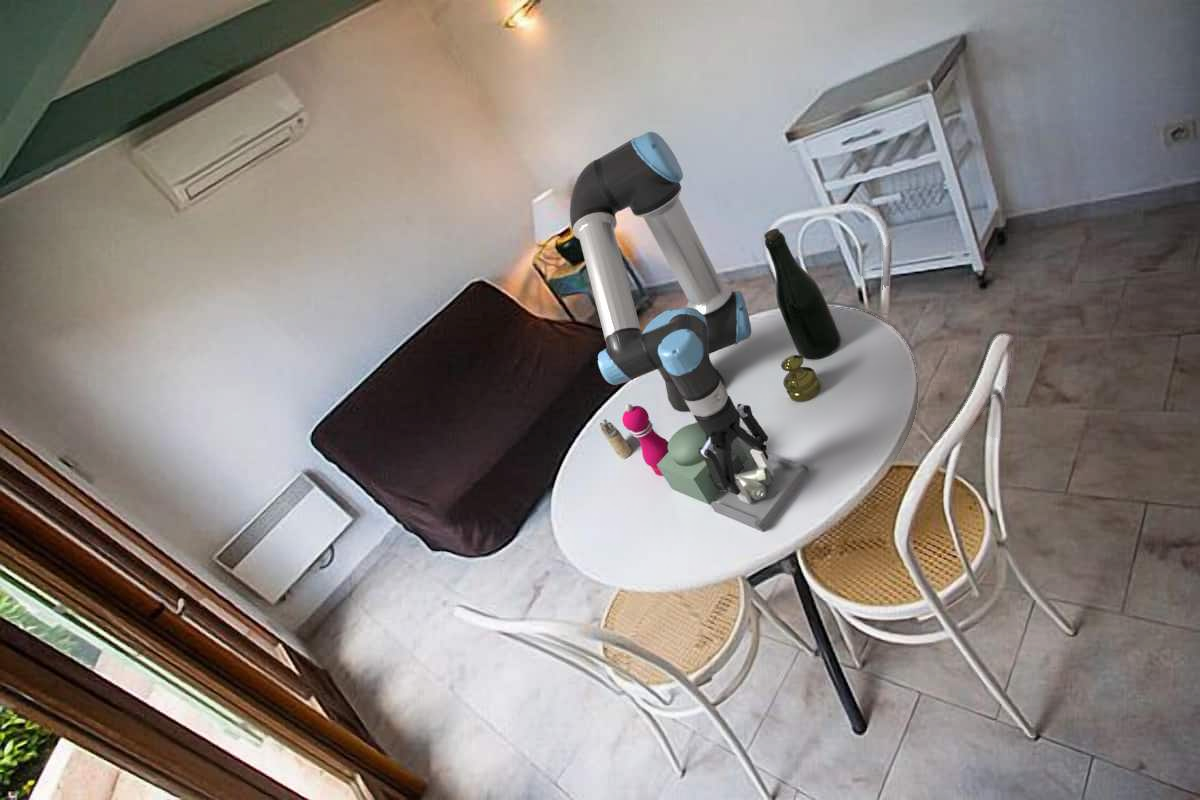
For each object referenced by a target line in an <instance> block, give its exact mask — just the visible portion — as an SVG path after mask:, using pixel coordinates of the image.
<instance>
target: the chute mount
mask: <svg viewBox="0 0 1200 800" xmlns="http://www.w3.org/2000/svg"><path fill="white" fill-rule="evenodd" d="M767 455H768V459H767V461H768V463H769V465H770V467H771V469H772V471H773V473H774V475H773V476H770V480H771V482H770V484H769V485H767V486H765V488H766V493H765V494H766V495H765V496H764V497H762V498H761V499H759V500H755V499H754V498H752V497H750V496H749V497H750V499H751V501H752V502H751V503H750V504H749V503H746V502H743V501H741V500H739V498H738V496H737V495H736V494H733V493H731V491H730V490H729V489H728V491H727V492H726V493H725V495H724V496H723V497H722V498H721V499H720V500H719V502H718V501H714V500H713V501H712V502H711V503H710V506H711V508H712V509H713V511H714V512H715V513H717V514H719V515H721V516H724V517H726V518H728V519H731V520H733V521H737V522H739V523H741V524H743V525H746V526H748V527H750V528H753V529H755V530H757V531H760V532H762V533H763V532H764V531H765V530H766V529H767V528H768V527H769V526H770V524H771V523H772V521H773V520H774V519H775V518H776V516H777V515H778V514H779V513H780V511H782V509H783V508H784V506H785V505H786V504H787V503H788V501H789V500H790V498H791V497H792V496H793V495H794V494H795V493H796V492H797V490H798V489H799V488H800V486H801V485H802V484H803V483H804V482H805V480H806V479H807V477H808V476H809V475H810V474H811V471H810V469H809V468H808V466H807V464H804V463H800V462H797V461H793V460H790V459H786V458H783V457H780V456H776V455H772V454H770V453H767ZM753 460H754V459H753ZM758 468H759V467H758V465H757V463H756V462H755V460H754V461H752V463H751V464H750V465H749V466H748V467H747V469H746V470H745V471H744V472H748V471H752V470H756V469H758Z"/></svg>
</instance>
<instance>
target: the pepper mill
mask: <svg viewBox="0 0 1200 800" xmlns="http://www.w3.org/2000/svg"><path fill="white" fill-rule="evenodd" d="M624 410H625V411H624V412H623V415H622V418H621V419H622V420H621V421H622V424H623V426H624V427H625V429H627V430H628V431H630V432H631V434H632V436H633V437H634V438H637V439H638V442H640V446H641V455H642V458H643V461H644V463H645V464H646V465H647V466H649V467H651V469H652V471H653V472H654V474H655V475H657V476H659V477H662V476H663V474H662V473H661V471H660V470H659V468H658V467H657V464H658V463H659V462H660V461H661V460H662V459H663V457H664V456H665V455H666V454H667V453H668V452H669V451H668V443H669V440H667V439H666V438H664V437H662V436H661V435H660V434H658V433H657V432H656V431H655V430H654V429H653V428H654V427H653V423H652V421H651V419H650V418H649V413H648V411H647V410H646V408H644V407H643V406H641V405H632V404H631V403H626V404H625V406H624ZM663 477H664V476H663Z"/></svg>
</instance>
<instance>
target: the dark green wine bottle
mask: <svg viewBox="0 0 1200 800" xmlns="http://www.w3.org/2000/svg"><path fill="white" fill-rule="evenodd" d="M764 246H765V248H766V249H767V252H768V253H769V256H770V258H771V261H772V264H773V267H774V271H775V272H774V273H775V295H776V296H775V297H776V301H777V305H778V308H779V311H780V314H781V316H782V318H783V321H784V323H785V326H786V329H787V330H788V332H789V335H790V337H791V339H792V342H793V345H794V347H795V348H796V351H797V354H798V355H800V356H802V358H803V359H806V360H818V359H821V358H824V357H827V356H829V355H831V354H832V353H833V352H835V351H836V350H837V349H838V348H839V346H840V344H841V342H842V337H841V334H840V332H839V330H838V326H837V325H836V322H835V320H834V318H833V315H832V313H831V310H830V309H829V306H828V303H827V300H826V299H825V297H824V295H823V292H822V290H821V288H820V286H819V285H818V283H817V282H816V280H815V279H814V278H813V277H812V276H811V275H810V274H809V273H808V272H807V271H806V270H805V269H804V268H803V267H802V266H801V265H800V264H799V263H798V261H797V260H796V259H795V257H794V255H793V253H792V252H791V250H790V248H789V245H788V243H787V241H786V236H785V234H783V232H781V231H780V229H779V228H772V229H771V230H768V231H767V232H766V233H764Z"/></svg>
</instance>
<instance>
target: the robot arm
mask: <svg viewBox="0 0 1200 800" xmlns="http://www.w3.org/2000/svg"><path fill="white" fill-rule="evenodd" d="M683 178H684V174H683V169H682V167H681V165H680V164H679V161H678V158H677V157H676V155H675V154H674V151H673V150H672V149H671V147H670V146H669V145H668V143H667V142H666V141H665V139H664V138H663V137H662V136H661V135H660V134H658V133H657V132H654V131H648V132H645V133H644V134H641V135H639V136H637V137H633V138H632V139H629V140H628V141H627V142H625V143H623V144H621V145H620V146H618V147H616V148H615V149H613V150H611V151H609V152H608V153H606V154H604V155H602V156H601V157H599V158H597V159H595V160H592V161H591V162H589V163H588V164H587V165H586V166H585V167H584V168H583V170H582V171H581V172H580V174H579V175H578V177H577V179H576V181H575V184H574V186H573V190H572V192H571V198H570V204H569V221H570V226H571V230H572V233H573V235H574V237H575V238H576V239H577V240H579V243H580V246H581V251H582V254H583V258H584V261H585V262H584V263H585V267H586V270H587V274H588V278H589V282H590V286H591V289H592V293H593V297H594V302H595V305H596V309H597V313H598V316H599V317H598V318H599V321H600V325H601V328H602V332H603V333H602V334H603V337H604V341H605V344H606V348H604V349H603V350H602V351H600V352H599V353H598V355H597V359H598V360H597V364H598V368H599V370H600V373H601V375H602V377H603V378H604V380H605V381H606V382H607V383H608V384H611V385H612V386H616V385H619V384H620V385H621V384H624V383H626V382H630V381H634V379H636V378H639V377H642V376H644V375H646V374H649V373H651V372H654V371H656V370H657V371H658V372H659V374H660V375H661V377H662V379H663V381H664V384H665V390H666V394H667V399H668V402H669V404H670V405H671V407H672V408H673V410H676V411H677V412H680V413H682V412H683V413H688V412H691V415H693V417H694V419H695V421H696V422H697V423H698V424H699V426H700V428H701V429H702V430H703V431H704V433H705V435H706V440H707V442H706V444H705V446H704V447H703V448H702V447H700V448H699V449H698V453H699V454H700V455H701V456H702V457H703V458H704V460H705V462H706V464H707V467H708V469H709V471H710V473H711V476H712V478H713V480H714V482H715V485H717V486H719V487H722V488H725V489H727V488H728V489H727V490H728V491H729V490H730V491H731V493H733V494H736V495H737V496H738V498H739V500H741V501H743V502H746V503H749V504H750V503H751V502H752V501H751V499H750V497H749V495H748V494H747V492H746V490H745V488H744V487H743V485H742V483H741V482H740V480H739V479H737V478H735V475H734V469H733V464H732V458H731V451H732V448H731V444H732V442H733V440H734V439H736V438H738V439H740V440H741V441H742V442H743V443H745V444H746V445H748V446H749V447H751V448H752V449H750V454H751V456H752V458H753V460H755V462H756V463H757V465H758V467H766V469H767V471H768V473H769V475H770V476H773V475H774V473H773V471H772V469H771V467H770V465H769V463H768V461H767V459H768V455H767V454H768V453H767V452H766V451H767V450H768V446H767V445H766V444H765V443H766V442H768V440H769V436H768V435H767V433H766V431H765V430H764V429H763V428H762V426H761V425H760V423H759V421H758V420H757V419H756V417H755V415H753V412H752V411H753V410H752V408H751V407H752V406H751V405H748V404H742V403H738V404H737V405H736V406H735V404H734V402H733V401H732V398H731V397H730V396H729V393H728V391H727V390H726V388H725V386H724V385H725V380H724V377H723V376H722V373H721V372H720V371H719V370H718V369H717V368H716V367H715V366H714V365H713V363H712V361H711V358H710V354H712V353H715V352H718V351H720V350H722V349H725V348H727V347H730V346H732V345H738V343H740V342H743V341H744V340H747V339H749V338H750V337H751V335H752V332H753V331H752V330H753V329H752V325H751V324H752V323H751V321H750V316H749V312H748V307H747V305H746V302H745V298H744V295H743V294H742V291H741V290H734V291H733V289H732V287H731V285H729V284H727V283H723V282H721V280H720V278H719V276H718V273H717V271H716V269H715V268H714V266H713V263H712V261H711V259H710V258H709V256H708V254H707V252H706V249H705V248H704V246H703V244H702V242H701V240H700V237H699V236H698V234H697V231H696V230H695V227H694V226H693V224H692V221H691V220H690V218H689V215H688V214H687V211H686V210H685V208H684V205H683V204H682V202H681V201H682V200H681V199H680V195H681V191H682V185H681V181H682V180H683ZM627 208H630V210H631V212H632V214H633V215H634V216H635V217H639V218H642V219H644V221H645V223H646V225H647V227H648V228H649V231H650V232H651V234H652V237H653V238H654V239H655V241H656V243H657V245H658V246H659V249H660V251H661V252H662V255H663V256H664V258H665V260H666V262H667V264H668V265H669V267H670V269H671V271H672V272H673V274H674V276H675V278H676V280H677V282H678V284H679V286H680V287H681V289H682V291H683V293H684V294H685V297H686V298H687V300H688V302H687V304H686V307H682V308H679V309H668V310H665V311H663V312H662V313H659V314H658V315H657V316H655V317H654V318H653V319H652V320H651V321H649V322H648V324H647V325H646V326H645V328H644V330H643V332H642V329H641V325H640V321H639V318H638V314H637V310H636V307H635V303H634V300H633V296H632V292H631V289H630V284H629V280H628V278H627V273H626V270H625V267H624V261H623V258H622V255H621V252H620V247H619V244H618V240H617V237H616V232H615V229H616V227H617V224H618V223H617V218H616V214H617V213H619V212H621V211H623V210H624V209H627ZM741 420H742V422H743V424H744V425H745V427H746V428H747V429H748V431H749V432H750V433H751V434H752V435H751V434H750V433H748V431H747V430H746V429H744V428H743V427H742V426H740V425H741V423H740V422H741ZM713 445H714V448H715V450H716V451H717V454H718V459H717V457H716V455H715V451H714V450H713ZM718 460H719V461H718Z"/></svg>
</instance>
